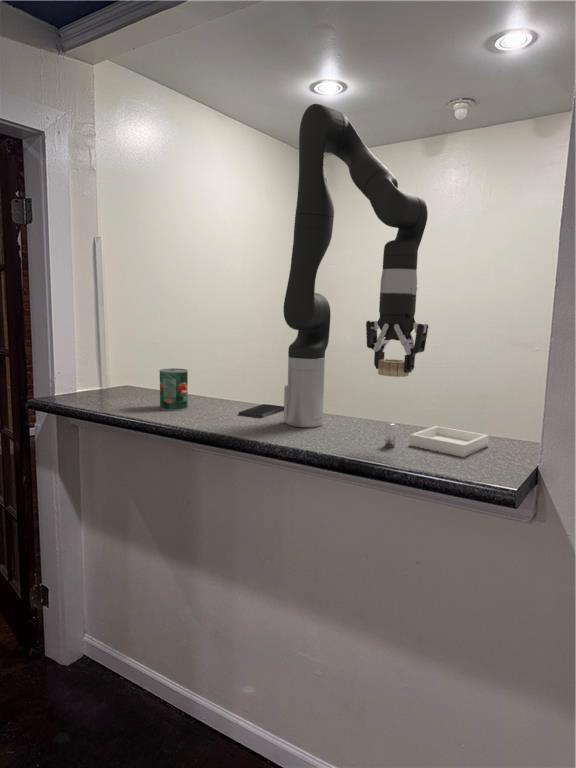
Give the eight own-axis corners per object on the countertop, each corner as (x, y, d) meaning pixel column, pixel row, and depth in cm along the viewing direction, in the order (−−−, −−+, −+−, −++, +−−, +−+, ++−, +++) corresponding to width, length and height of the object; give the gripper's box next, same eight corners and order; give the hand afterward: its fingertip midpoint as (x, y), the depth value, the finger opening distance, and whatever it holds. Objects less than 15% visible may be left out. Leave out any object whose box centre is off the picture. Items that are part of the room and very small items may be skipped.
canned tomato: (190, 410, 153) (190, 371, 151) (162, 411, 150) (161, 372, 148) (185, 404, 160) (184, 368, 158) (157, 406, 157) (157, 368, 155)
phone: (287, 406, 157) (261, 415, 144) (287, 410, 157) (261, 419, 144) (263, 403, 160) (236, 412, 147) (263, 407, 161) (236, 416, 147)
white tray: (409, 445, 119) (409, 434, 119) (435, 436, 128) (436, 425, 128) (463, 457, 111) (464, 445, 110) (487, 446, 120) (488, 435, 120)
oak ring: (372, 374, 116) (373, 360, 115) (388, 371, 120) (388, 358, 120) (398, 377, 111) (399, 363, 111) (413, 375, 116) (414, 361, 116)
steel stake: (382, 446, 118) (384, 423, 117) (388, 444, 120) (389, 422, 119) (391, 448, 117) (392, 425, 116) (396, 446, 118) (398, 423, 118)
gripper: (359, 290, 115) (355, 368, 118) (420, 291, 106) (414, 375, 108) (378, 292, 121) (374, 366, 123) (438, 292, 111) (432, 373, 114)
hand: (393, 370), depth 116 cm, fingers closed on oak ring, 6 cm apart
